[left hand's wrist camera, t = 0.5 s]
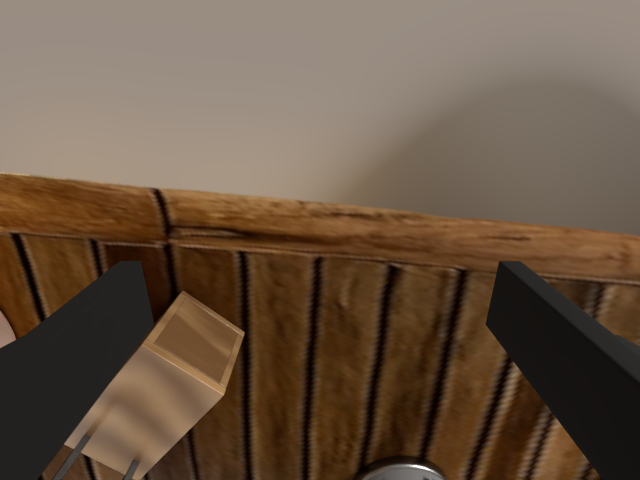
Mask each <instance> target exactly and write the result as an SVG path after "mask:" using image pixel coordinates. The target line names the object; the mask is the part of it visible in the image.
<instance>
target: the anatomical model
mask: <svg viewBox="0 0 640 480" xmlns="http://www.w3.org/2000/svg"><path fill="white" fill-rule="evenodd" d="M15 340H16V338H15V335H14V332H13V330H12V328H11V326H10V325H9V323H8V321H7V320H6V318H5V317H4V315H3V314H2V312H1V311H0V348H1V347H3V346H5V345H7V344H9V343H11V342H13V341H15Z"/></svg>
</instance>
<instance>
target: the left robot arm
mask: <svg viewBox="0 0 640 480" xmlns="http://www.w3.org/2000/svg"><path fill="white" fill-rule="evenodd" d="M153 325H154V321H153V316H152V312H151V307H150V302H149V298H148V293H147V288H146V284H145V279H144V274H143V270H142V265H141V261H120V262H118V263H117V264H116V265H114V266H113V267H112V268H111V269H109V270H108V271H107V272H105V273H104V274H103V275H102V276H100V277H99V278H98V279H97V280H95V281H94V282H93V283H91V284H90V285H89V286H88V287H86V288H85V289H84V290H82V291H81V292H80V293H79V294H77V295H76V296H75V297H73V298H72V299H71V300H70V301H68V302H67V303H66V304H65V305H63V306H62V307H61V308H59V309H58V310H57V311H56V312H54V313H53V314H52V315H50V316H49V317H48V318H47V319H45V320H44V321H43V322H42V323H40V324H39V325H38V326H36V327H35V328H34V329H33V330H31V331H30V332H29V333H27V334H26V335H25V336H22V337H20V338H18V339H17V340H15V341H13V342H11V343H9V344H7V345H5V346H3V347H1V348H0V480H37V479H38V478H39V476H40V475H41V474H42V472H43V471H44V470H45V469H46V467H47V466H48V465H49V463H50V462H51V461H52V459H53V458H54V457H55V455H56V454H57V453H58V451H59V450H60V449H61V447H62V446H63V445H64V443H65V442H66V441H67V439H68V438H69V437H70V435H71V434H72V433H73V431H74V430H75V429H76V427H77V426H78V425H79V423H80V422H81V421H82V420H83V418H84V417H85V416H86V414H87V413H88V412H89V410H90V409H91V408H92V406H93V405H94V404H95V402H96V401H97V400H98V398H99V397H100V396H101V394H102V393H103V392H104V390H105V389H106V388H107V386H108V385H109V384H110V382H111V381H112V380H113V378H114V377H115V376H116V374H117V373H118V372H119V370H120V369H121V368H122V367H123V365H124V364H125V363H126V361H127V360H128V359H129V357H130V356H131V355H132V353H133V352H134V351H135V349H136V348H137V347H138V345H139V344H140V343H141V341H142V340H143V339H144V337H145V336H146V335H147V333H148V332H149V331H150V329H151V328H152V327H153ZM486 325H487V327H488V328H489V329H490V331H491V332H492V333H493V335H494V336H495V337H496V339H497V340H498V341H499V343H500V344H501V345H502V347H503V348H504V349H505V351H506V352H507V353H508V355H509V356H510V357H511V359H512V360H513V361H514V363H515V364H516V365H517V367H518V368H519V369H520V370H521V372H522V373H523V374H524V376H525V377H526V378H527V380H528V381H529V382H530V384H531V385H532V386H533V388H534V389H535V390H536V392H537V393H538V394H539V396H540V397H541V398H542V400H543V401H544V402H545V404H546V405H547V406H548V408H549V409H550V410H551V412H552V413H553V414H554V416H555V417H556V418H557V420H558V421H559V422H560V423H561V425H562V426H563V427H564V429H565V430H566V431H567V433H568V434H569V435H570V437H571V438H572V439H573V441H574V442H575V443H576V445H577V446H578V447H579V449H580V450H581V451H582V453H583V454H584V455H585V457H586V458H587V459H588V461H589V462H590V463H591V465H592V466H593V467H594V469H595V470H596V471H597V472H598V474H599V475H600V476H601V478H602V479H603V480H640V346H638V345H636V344H634V343H632V342H630V341H628V340H626V339H624V338H622V337H621V336H619V335H614V334H613V333H611V332H610V331H609V330H607V329H606V328H605V327H604V326H602V325H601V324H600V323H598V322H597V321H596V320H595V319H593V318H592V317H591V316H590V315H588V314H587V313H586V312H584V311H583V310H582V309H581V308H579V307H578V306H577V305H575V304H574V303H573V302H572V301H570V300H569V299H568V298H567V297H565V296H564V295H563V294H561V293H560V292H559V291H558V290H556V289H555V288H554V287H552V286H551V285H550V284H549V283H547V282H546V281H545V280H543V279H542V278H541V277H540V276H538V275H537V274H536V273H535V272H533V271H532V270H531V269H529V268H528V267H527V266H526V265H524V264H523V263H522V262H520V261H499V265H498V270H497V274H496V279H495V284H494V288H493V293H492V298H491V302H490V307H489V312H488V316H487V321H486ZM354 480H447V478H446V476H445V474H444V473H443V471H442V470H441V469H440V468H439V467H437V466H436V465H435V464H433V463H431V462H429V461H427V460H424V459H420V458H416V457H406V456H401V457H391V458H386V459H383V460H379V461H377V462H375V463H372V464H370V465H369V466H367V467H366V468H364V469H363V470H362V471H361V472H360V473H359V474H358V475H357V476H356V477H355V479H354Z"/></svg>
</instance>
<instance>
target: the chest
mask: <svg viewBox="0 0 640 480" xmlns="http://www.w3.org/2000/svg"><path fill="white" fill-rule="evenodd" d="M244 333H245V332H244V331H242V330H241V329H239V328H238V327H236V326H235V325H233V324H232V323H230V322H229V321H227V320H226V319H224V318H223V317H221V316H220V315H218V314H217V313H215V312H214V311H213V310H211V309H210V308H208V307H207V306H205V305H204V304H202V303H201V302H199V301H198V300H196V299H195V298H193V297H192V296H190V295H189V294H187V293H186V292H185V291H182V292H181V293H180V294H179V295H178V296H177V298H176V299H175V300H174V301H173V302H172V304H171V305H170V306H169V307H168V309H167V310H166V311H165V312H164V313H163V315H162V316H161V317H160V318H159V320H158V321H157V322H156V323H155V324H154V326H153V327H152V328H151V329H150V331H149V332H148V333H147V335H146V336H145V337H144V339H143V340H142V341H141V343H140V344H139V345H138V347H137V348H136V349H135V351H136V350H137V349H138V348H139V347H140V345H141V344H142V343H143V342H144V340H145V339H148V340H149V341H151V342H152V343H154V344H156V345H157V346H159V347H160V348H162V349H164V350H165V351H167V352H169V353H170V354H172V355H173V356H175V357H177V358H178V359H180V360H181V361H183V362H185V363H186V364H188V365H189V366H191V367H193V368H194V369H196V370H198V371H199V372H201V373H202V374H204V375H206V376H207V377H209V378H210V379H212V380H214V381H215V382H217V383H219V384H220V385H222V386H223V387H225V388H226V387H227V384H228V381H229V378H230V375H231V372H232V369H233V366H234V363H235V360H236V357H237V354H238V351H239V348H240V345H241V342H242V339H243V336H244ZM135 351H134V352H133V353H132V355H133V354H134V353H135ZM132 355H131V356H132ZM131 356H130V357H131ZM130 357H129V359H130ZM129 359H128V360H129ZM128 360H127V361H128ZM127 361H126V362H127ZM124 365H125V364H124ZM124 365H123V366H124ZM120 370H121V369H120ZM120 370H119V371H120Z"/></svg>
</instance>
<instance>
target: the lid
mask: <svg viewBox="0 0 640 480" xmlns="http://www.w3.org/2000/svg"><path fill="white" fill-rule="evenodd" d="M225 390H226V388H225V387H223V386H222V385H220V384H219V383H217V382H215V381H214V380H212V379H210V378H209V377H207V376H206V375H204V374H202V373H201V372H199V371H198V370H196V369H194V368H193V367H191V366H189V365H188V364H186V363H185V362H183V361H181V360H180V359H178V358H177V357H175V356H173V355H172V354H170V353H169V352H167V351H165V350H164V349H162V348H160V347H159V346H157V345H156V344H154V343H152V342H151V341H149V340H148V339H145V340H144V342H143V343H142V344H141V345H140V347H139V348H138V349H137V350H136V351H135V353H134V354H133V355H132V356H131V357H130V359H129V360H128V361H127V362H126V363H125V365H124V366H123V367H122V368H121V370H120V371H119V372H118V373H117V374H116V376H115V377H114V378H113V380H112V381H111V382H110V384H109V385H108V386H107V388H106V389H105V390H104V392H103V393H102V394H101V396H100V397H99V398H98V400H97V401H96V402H95V404H94V405H93V406H92V408H91V409H90V410H89V412H88V413H87V414H86V416H85V417H84V418H83V420H82V421H81V422H80V423H79V425H78V426H77V427H76V429H75V430H74V431H73V433H72V434H71V435H70V437H69V438H68V439H67V441H66V442H65V443H64V444H65V445H67V446H69V447H71V448H73V449H74V450H73V451H72V452H71V454H70V455H69V457H68V458H67V459H66V461H65V462H64V463H63V465H62V466H61V468H60V469H59V470H58V472H57V473H56V475H55V476H54V477H53V479H52V480H62V479H63V477H64V476H65V474H66V473H67V471H68V470H69V468H70V467H71V466H72V464H73V463H74V461H75V460H76V458H77V457H78V456H79V454H80V453H83V454H85V455H87V456H89V457H91V458H93V459H95V460H97V461H99V462H101V463H102V464H104V465H106V466H108V467H110V468H112V469H114V470H116V471H118V472H120V473H122V474H124V475H125V476H124V477H123V479H122V480H131V479H134V480H139V479H140V478H141V477H142V476H143V475H144V474H145V473H146V472H147V471H148V470H149V469H150V468H151V467H152V466H153V465H154V464H155V463H156V462H157V461H158V460H159V459H160V458H161V457H162V456H163V455H164V454H165V453H166V452H167V451H168V450H169V449H170V448H171V447H172V446H173V445H174V444H175V443H176V442H177V441H178V440H179V439H180V438H181V437H182V436H183V435H184V434H185V433H186V432H187V431H188V430H189V429H190V428H191V427H192V426H193V425H194V424H195V423H196V422H197V421H198V420H199V419H200V418H201V417H202V416H203V415H204V414H205V413H206V412H207V411H208V410H209V409H210V408H211V407H212V406H213V405H214V404H215V403H216V402H217V401H218V400H219V399H220V398H221V397H222V396H223V395H224V393H225Z"/></svg>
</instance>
